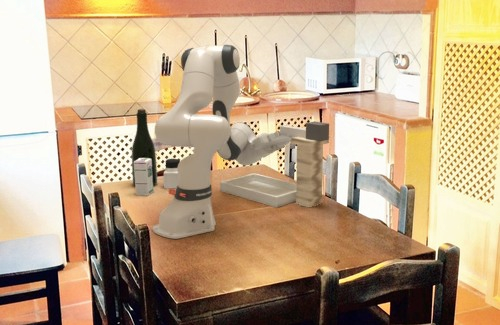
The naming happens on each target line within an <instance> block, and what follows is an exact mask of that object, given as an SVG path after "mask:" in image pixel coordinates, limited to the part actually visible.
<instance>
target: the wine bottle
mask: <svg viewBox="0 0 500 325" xmlns="http://www.w3.org/2000/svg"><path fill="white" fill-rule="evenodd" d="M148 125H149V124H148V113H147V112H146V109H143V108H140V109H137V112H136V132H135V136H134V139H133V143H132V146H131V168H132V169H131V170H132V185H133V187H135V173H134V161H136V160H137V159H139V158H151V159H152V173H153V187H154V186H156V185H157V184H158V169H157V167H158V166H157V156H156V148H155V143H154V141H153V139H152V137H151V135H150V131H149V127H148Z"/></svg>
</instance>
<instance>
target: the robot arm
mask: <svg viewBox="0 0 500 325" xmlns="http://www.w3.org/2000/svg"><path fill="white" fill-rule="evenodd" d="M240 61H241V57H240V54H239V51H238V49H237V47H235V46H234V45H232V44H224V45H220V44H219V45H217V44H216V45H203V46H198V47H195V48H194V47H191V48H187V49H186V50H184V52H182V54H181V57H180V64H181V68H182V71H183V74H182V81H181V85H180V86H181V87H180V90H179V91H180V92H179V96H178V99H177V100H176V102H175V104H174V105H173V106H172V107H171V108H170V109H169V110H168V111H167V112H166V113H164V114H162V115H161V116H159V117H158V119H157V120H156V123H155V125H154V134H155V138H156V139H157V141H158V142H159V143H160V144H163V145H166V146H172V147H190V148H193V150H194V151H193V153H192V154H190V155H188V156H185V157H184V158H182V159H181V160H180V162H179V164H178V186H177V188H176V189H168V195H172V196H173V197H174V198H173V199H172V200H171V201H170V202H169V203H168V204H167V205H166V206H165V207H164V208H163V209H162V210H161V212H160V213H159V218H158V224H156V225H153V226H152V229H151V230H152V232H153V233H154V234H156V235H158V236H161V237H164V238H167V239H173V240H174V239H176V240H177V239H182V238H186V237H191V236H196V235H200V234H204V233H209V232H213V231H215V228H216V226H217V225H216V224H217V222H216V220H215V215H214V212H213V207H212V206H213V204H212V195H213V189H212V184H211V167H212V161H213V158H214V157H215V155H216V153H217V154H218V156H219V157H220V158H221V159H223V160H226V161H235V160H236V162H237V163H238V164H240V165H241V166H250V165H253V164H256V163H257V162H259V161H261V160H262V158H266V157H269V156H270V155H271V154H273V153H275V152H277V151H279V150H282V149H283V148H285V146H286V145H288V144H289V143H291V138H294V137H296V136H290V135H284V134H280V130H278V131H277V130H276V131H275V132H272V133H266V132H263V133H261V134H259V135H258V136H257V135H256V133H255V132H254V130H253V129H252V128H251V127H250V126H249V125H248V124H247V123H245V122H235V123H234V124H233V125H232V126H231V121H230V118H231V116H230V115H231V112H232V110H233V108H234V106H235V103H236V101H237V99H238V98H239V96H240V93H241V86H240V79H239V76H238V72H237V71H238V69H239V68H240V64H241V63H240ZM211 103H212V108H211V109H212V110H211V111H212V113H211V114H207V113H206V114H205V113H204V114H200V113H199V114H197V113H198V112H199V111H202V110H204V109H205V108H207V107H208V106H209V105H210V104H211Z"/></svg>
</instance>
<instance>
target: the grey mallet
mask: <svg viewBox="0 0 500 325" xmlns="http://www.w3.org/2000/svg"><path fill="white" fill-rule="evenodd" d="M279 131H280V134H284V135H290V136H296V137H301V138H306V139H309V140H315V141H325V140H329V141H330V123H327V122H321V121H310V122H306V123H305V128H304V127H299V126H291V125H285V124H284V125H280V126H279Z"/></svg>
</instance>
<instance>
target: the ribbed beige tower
mask: <svg viewBox="0 0 500 325" xmlns="http://www.w3.org/2000/svg"><path fill="white" fill-rule="evenodd" d="M329 142H330V139H329V140H325V141H315V140H309V139H306V138H301V137H294V138H291V142H290V143H291V144H293V145H296V201H295V205H298V204H299V205H298V206H302V207H305V206H307V207H306V208H309V207H311V208H313V207H312V206H314V207H316V206H315V205H317V204H320V203H322V204H323V172H324V171H323V170H324V169H323V166H324V164H323V163H324V160H323V159H324V145H325V144H330V143H329ZM320 205H321V204H320ZM317 206H318V205H317Z"/></svg>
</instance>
